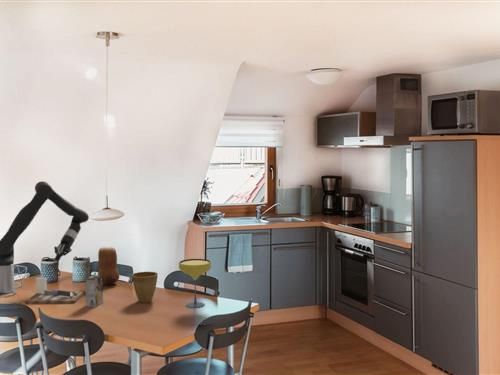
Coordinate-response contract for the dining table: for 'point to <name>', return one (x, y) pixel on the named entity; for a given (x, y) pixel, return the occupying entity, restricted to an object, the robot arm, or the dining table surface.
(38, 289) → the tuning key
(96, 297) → the coffee box
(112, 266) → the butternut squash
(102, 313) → the dining table surface
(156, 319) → the dining table surface
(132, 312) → the dining table surface
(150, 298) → the plant pot
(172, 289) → the dining table surface
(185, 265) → the cocktail glass
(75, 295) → the board
